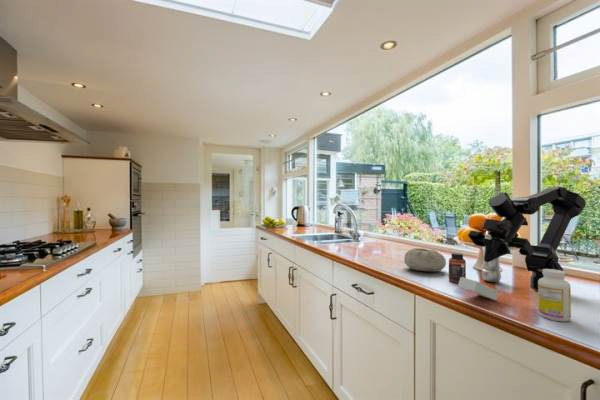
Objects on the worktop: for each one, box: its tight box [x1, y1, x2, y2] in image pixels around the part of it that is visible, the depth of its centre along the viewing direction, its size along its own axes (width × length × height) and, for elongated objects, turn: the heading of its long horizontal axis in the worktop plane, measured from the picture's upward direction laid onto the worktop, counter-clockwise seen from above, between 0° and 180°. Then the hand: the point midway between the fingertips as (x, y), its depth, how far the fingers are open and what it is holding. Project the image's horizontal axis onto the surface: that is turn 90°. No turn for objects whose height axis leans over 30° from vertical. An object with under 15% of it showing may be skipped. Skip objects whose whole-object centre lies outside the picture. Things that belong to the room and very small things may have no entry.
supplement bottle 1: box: [448, 252, 467, 284], centre depth 112 cm, size 6×6×11 cm
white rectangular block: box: [457, 277, 499, 301], centre depth 92 cm, size 3×6×10 cm
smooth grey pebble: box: [403, 247, 447, 272], centre depth 131 cm, size 18×18×10 cm
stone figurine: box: [481, 230, 502, 283], centre depth 113 cm, size 6×7×20 cm
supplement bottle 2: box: [537, 269, 572, 322], centre depth 77 cm, size 7×7×13 cm
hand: (485, 261), depth 93 cm, fingers closed
